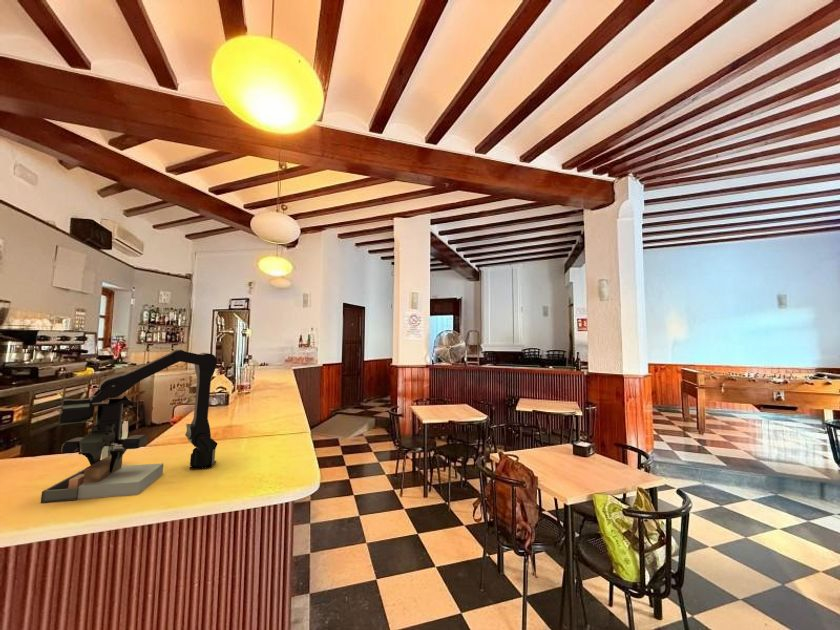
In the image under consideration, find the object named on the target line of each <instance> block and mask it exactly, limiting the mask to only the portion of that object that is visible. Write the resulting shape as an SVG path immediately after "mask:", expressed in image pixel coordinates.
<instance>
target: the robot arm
mask: <svg viewBox="0 0 840 630" xmlns="http://www.w3.org/2000/svg"><path fill="white" fill-rule="evenodd" d="M180 362H182V363H187V364H191V365H193V366H194V371H195V375H196V388H195V398H194V410H193V419H192V421H191V423H185V424H186V432H185V434H184V436H185V437H187V440H188V442H189V443H190V444H192V446H193V447H195V448H193V449H192V453H190V459H189V461H190V462H189V470H201V469H202V470H203V469H211V468H212V467H213V466H214V465H215V464H216V462H217V460H215V458H216V448H217V447H218V442H216V441H215V440H214V439H213V438H212V435H211V426H210V423H209V419H208V417H209V407H210V406H209V405H210V395H211V384H212V383H211V382H212V378H213V375H214V373H215V371H216V367H217V364H218V359H217V357H216V355H214V354H213V353H209V352H208V353H207V352H202V353H194V352H190V351H184V350H183V349H174V350H172V351H171V352H169V353H167V354H165V355H163V356H161V357H158V358H156V359H154V360H152V361H150V362H148V363H146V364H143V365H141V366H139V367H137V368H135V369H133V370H130V371H129V370H128V371H126V372H123V373H119V374H116V375H113V376H109V377H106V378H105V379H103V380H102V381H101V382H100V383H99V385H98V387H99V389H97V391H95V392H94V393H93V394H91V396H90V397H89V398H80V399H78V398H77V399H74V398H73V399H72V398H71V399H70V398H69V399H67V398H66V399H63V401H62V402H63V403H62V404H63V405H62V409H61V412H60V421H59V425H60V426H61V425H70V424H79V423H87V422H88V421H89V420H91V419H93V418H94V415H95V407H97V408H96V418H95V424H92V427H91V430H90V433H87V434H86V435H85V436H83V437H75V438H72V439H70V440H67V441H65V442H63V444H62V445H61V449H60V453H73V452H76V451H77V450H78V449H80V451H79V452H77V454H78V455H82V456H83V457H86V459H87V461H88V463H89V466H91V465H92V464H94V463H96V462H98V461H100V460H101V459H102V455H101V453H102V449H103V448H104V446H115V449H114V450H112V451H110V453H111V455H112V457H111V463H110V473H112V472H113V471H114V469H115V468H116V466H117V464H118V462H119V461H120V459H121V457H122V456H123V457H124V454H125V452H126V451H127V450H135V449H136V450H138V449H140V448H141V447H143V446H145V445H147V444H148V439H149V438H148V436H147V435H146V434H136V435H135V434H133V435H131V436H127V438H126V439H120V438H121V437H122V434H120V431H121V424H124V421H125V420H123V408H124V407H123V406H124V404H131V403H132V400H131V399H130V398H128V397H127V395H125V394H124V393H126V392H128V390H130V389H132V388H133V387H134V386H136V385H137V384H138V383H139V382H141V381H143V380H145V379H147V378H149V377H151V376H153V375H155V374H157V373H159V372H161V371H163V370H165V369H167V368H169V367H171V366H173V365H175V364H178V363H180ZM121 395H122V396H121ZM120 396H121V397H120ZM105 400H107V401H105ZM113 442H114V443H113ZM123 457H122V458H123Z"/></svg>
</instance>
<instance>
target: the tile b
mask: <svg viewBox="0 0 840 630" xmlns="http://www.w3.org/2000/svg"><path fill="white" fill-rule="evenodd" d="M83 481H84V474H79V475H77V476H75V477H73V478H72V479H70V480H69V487H68V489H72V488H79V486H80V485H82V484H83Z"/></svg>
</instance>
